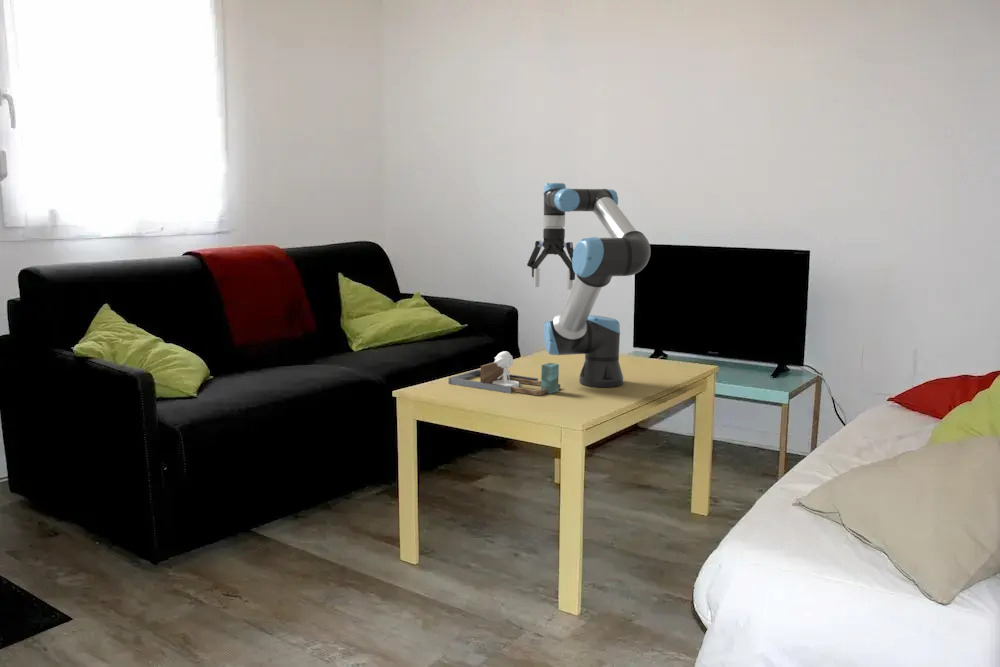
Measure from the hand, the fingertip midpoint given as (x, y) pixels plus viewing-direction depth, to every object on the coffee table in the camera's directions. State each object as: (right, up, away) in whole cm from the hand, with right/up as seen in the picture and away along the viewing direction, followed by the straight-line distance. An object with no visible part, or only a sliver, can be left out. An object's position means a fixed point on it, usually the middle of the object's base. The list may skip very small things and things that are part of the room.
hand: (552, 288), depth 306 cm
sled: (-11, -34, -15) cm, 39 cm away
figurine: (-17, -34, -12) cm, 40 cm away
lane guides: (-21, -33, -9) cm, 40 cm away
